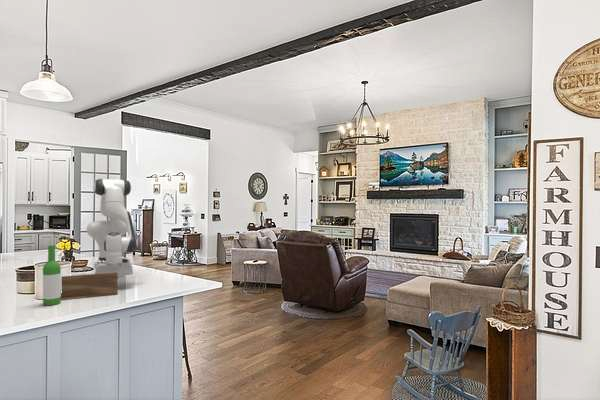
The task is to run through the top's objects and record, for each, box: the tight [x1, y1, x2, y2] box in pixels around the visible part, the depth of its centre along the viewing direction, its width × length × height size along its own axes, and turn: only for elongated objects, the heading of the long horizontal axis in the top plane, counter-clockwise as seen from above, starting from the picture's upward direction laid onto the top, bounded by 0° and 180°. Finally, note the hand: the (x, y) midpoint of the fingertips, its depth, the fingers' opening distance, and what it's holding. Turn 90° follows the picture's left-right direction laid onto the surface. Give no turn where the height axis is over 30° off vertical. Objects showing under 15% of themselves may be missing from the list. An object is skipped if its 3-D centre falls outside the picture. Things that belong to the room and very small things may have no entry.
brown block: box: [61, 272, 119, 301], centre depth 212 cm, size 13×28×12 cm, turn 114°
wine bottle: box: [42, 244, 62, 306], centre depth 194 cm, size 8×8×30 cm
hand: (114, 283), depth 225 cm, fingers closed
